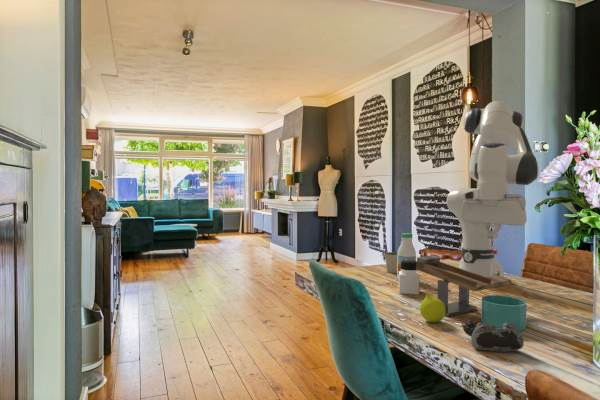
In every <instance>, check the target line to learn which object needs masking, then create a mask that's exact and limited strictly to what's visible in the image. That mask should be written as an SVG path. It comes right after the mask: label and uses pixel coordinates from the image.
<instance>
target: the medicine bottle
mask: <svg viewBox="0 0 600 400" xmlns="http://www.w3.org/2000/svg"><path fill="white" fill-rule="evenodd" d="M416 264H417V260H416V261H415V260H402V261H401V271H399V281H398V293H399V294H401V295H420V278H421V277H420V274H419V272H418V270H416Z"/></svg>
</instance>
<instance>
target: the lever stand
mask: <svg viewBox="0 0 600 400" xmlns="http://www.w3.org/2000/svg"><path fill="white" fill-rule="evenodd" d="M436 298H438V299H439V300H441V301H442V302H443V304H444V306H445V309H446V313H445V316H444V317H448V318H450V317H454V316H458V315H462V314H465V313H468V312H472V311H473V312H474V311H477V310H478V309H477V308H478V306H476V305H471V304H470V290H469V289H467V288H464V287H461V286H459V285H458V301H454V302H451V303H450V302H449V283H448V282H447V281H444V280H443V279H438V280H437V297H436Z"/></svg>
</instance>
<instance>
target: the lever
mask: <svg viewBox="0 0 600 400" xmlns="http://www.w3.org/2000/svg"><path fill="white" fill-rule="evenodd" d="M416 261H417V264H416V270H417V271H419V272H422V273H424V274H427V275H430V276H433V277H435V278H438V279H439V280H443V281H447V282H448V284H449V283H450V284H451V283H452V284H453V285H457V286H458V287H459V286H461V287H464V288H467V289H469V291H472V292H477V291H483V290H488V289H491V288H497V286H498V287H500V286H501V287H502V286H505V285H510V284H511V283H512V279H511V278H509V279H507V278H508V277H505V276H504V277H505V278H504V277H501V276H498V275H494V276H489V277H484V276H481V275H478V274H475V273H472V272H469V271H466V270H463V269H460V268H459V267H457V266H453V265H451V264H449V263H445V262H442V261H441V257H440V256H436V255H425V256H416Z"/></svg>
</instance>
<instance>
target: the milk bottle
mask: <svg viewBox="0 0 600 400" xmlns="http://www.w3.org/2000/svg"><path fill="white" fill-rule="evenodd" d="M400 236H401V237H400V238H401V242H400V246H399V247H398V249H397V252H398V253H397V273H396V279H397V281H398V282H399V271H401V261H402V260H415V261H417V254H416V253H417V252H416V249H415V247H414V244H413V233H412V232H410V233H409V232H402V233H401V235H400Z"/></svg>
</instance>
